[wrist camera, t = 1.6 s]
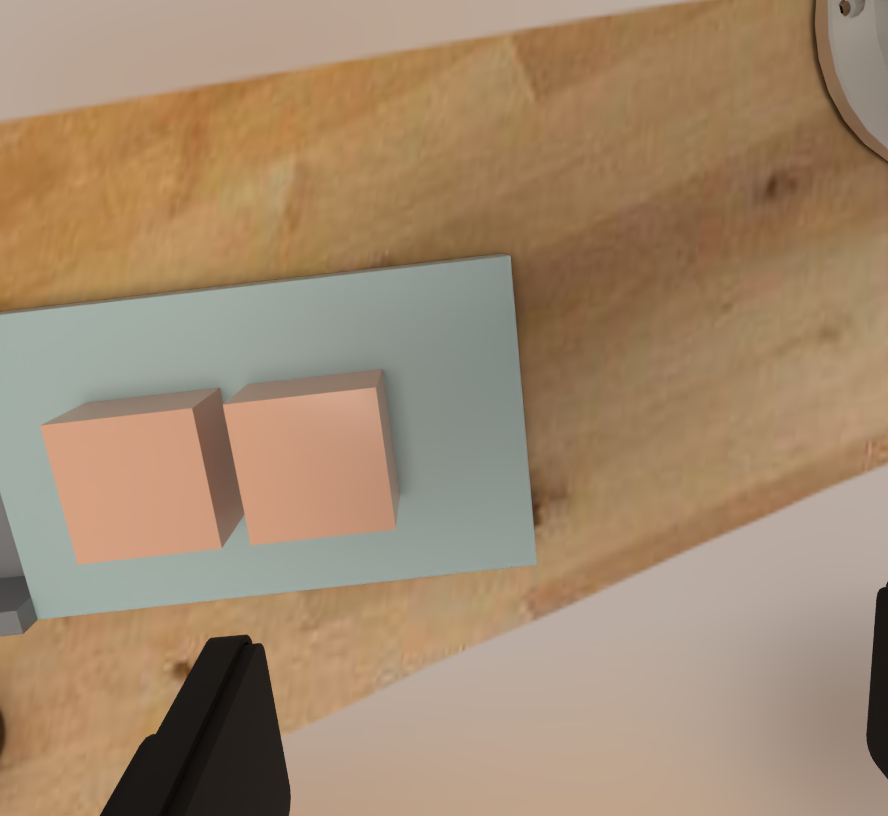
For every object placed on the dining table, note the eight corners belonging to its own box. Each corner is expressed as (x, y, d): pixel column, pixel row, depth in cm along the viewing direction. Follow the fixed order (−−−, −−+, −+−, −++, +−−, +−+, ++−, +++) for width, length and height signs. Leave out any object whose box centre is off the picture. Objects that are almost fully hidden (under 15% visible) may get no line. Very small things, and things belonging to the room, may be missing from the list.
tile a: (382, 369, 25) (375, 387, 22) (399, 496, 26) (395, 529, 24) (246, 384, 25) (222, 404, 22) (270, 510, 26) (250, 545, 24)
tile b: (219, 387, 25) (192, 408, 22) (244, 513, 27) (221, 548, 24) (84, 403, 25) (39, 425, 22) (116, 527, 27) (77, 564, 24)
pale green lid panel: (503, 253, 27) (510, 255, 24) (528, 537, 30) (536, 564, 27) (-7, 312, 27) (-51, 320, 24) (69, 588, 30) (37, 619, 28)
